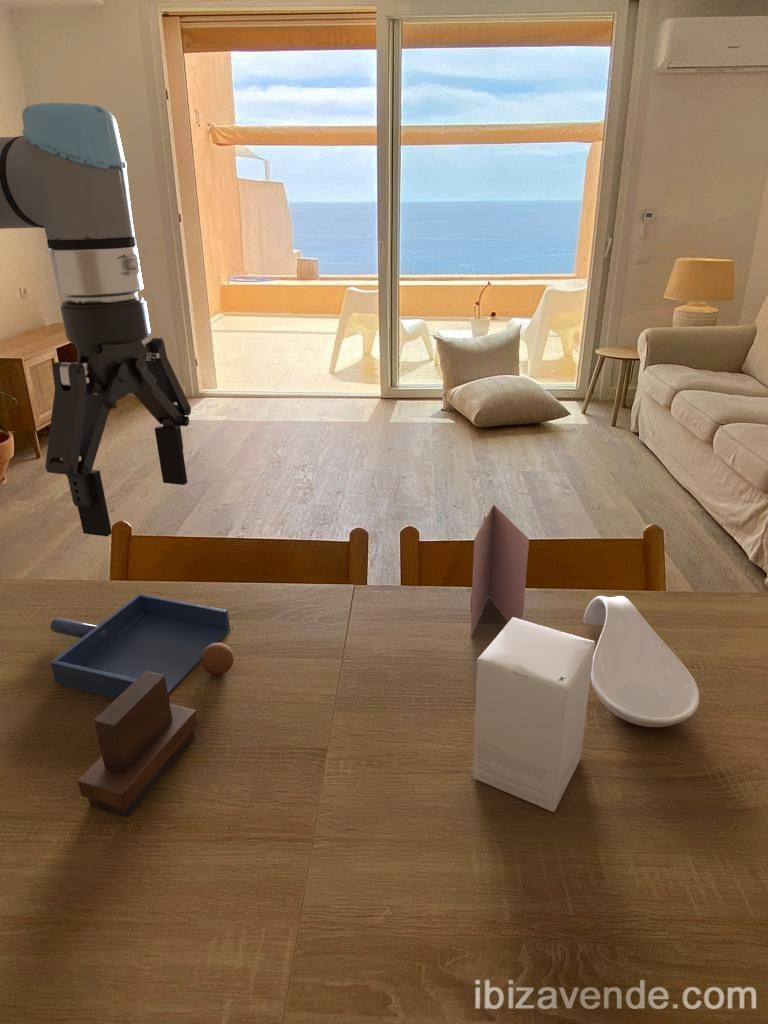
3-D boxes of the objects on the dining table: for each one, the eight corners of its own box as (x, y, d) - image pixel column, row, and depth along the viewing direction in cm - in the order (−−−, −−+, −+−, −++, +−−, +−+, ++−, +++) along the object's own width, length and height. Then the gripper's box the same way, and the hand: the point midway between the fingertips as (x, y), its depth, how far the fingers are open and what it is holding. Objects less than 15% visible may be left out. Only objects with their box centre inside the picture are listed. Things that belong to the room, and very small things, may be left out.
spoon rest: (712, 744, 75) (724, 690, 72) (603, 745, 75) (611, 692, 72) (639, 622, 97) (646, 577, 94) (554, 623, 97) (559, 578, 94)
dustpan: (230, 630, 97) (227, 610, 95) (154, 708, 82) (150, 686, 80) (97, 603, 104) (93, 584, 102) (5, 671, 89) (-1, 650, 87)
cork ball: (196, 678, 87) (192, 651, 85) (214, 659, 90) (210, 634, 89) (224, 684, 86) (221, 657, 84) (241, 665, 89) (238, 639, 88)
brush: (84, 808, 69) (64, 732, 65) (160, 725, 79) (147, 656, 75) (128, 821, 67) (110, 744, 63) (199, 735, 78) (188, 665, 74)
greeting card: (482, 594, 104) (487, 503, 98) (532, 603, 102) (540, 510, 96) (464, 636, 95) (467, 537, 88) (518, 646, 92) (526, 545, 86)
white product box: (583, 757, 74) (599, 639, 68) (554, 815, 67) (569, 690, 61) (504, 726, 78) (512, 613, 72) (469, 778, 71) (475, 658, 65)
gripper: (38, 318, 53) (91, 565, 61) (207, 282, 74) (229, 468, 83) (-40, 316, 55) (22, 555, 63) (146, 281, 76) (174, 463, 85)
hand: (139, 506), depth 73 cm, fingers open, 13 cm apart
